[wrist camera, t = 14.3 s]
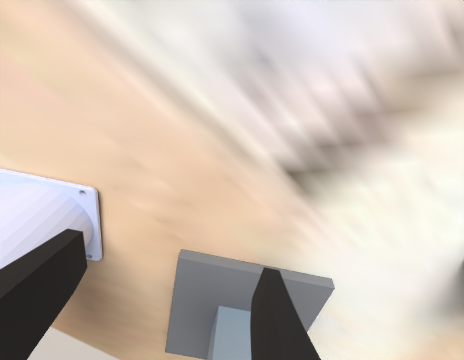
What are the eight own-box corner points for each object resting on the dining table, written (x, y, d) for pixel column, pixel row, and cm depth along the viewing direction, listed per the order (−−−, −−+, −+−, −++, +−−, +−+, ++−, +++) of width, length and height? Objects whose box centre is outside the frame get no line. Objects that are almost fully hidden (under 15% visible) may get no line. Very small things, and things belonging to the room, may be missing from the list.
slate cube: (210, 333, 28) (203, 389, 23) (218, 305, 25) (212, 362, 21) (256, 341, 28) (257, 399, 23) (268, 315, 25) (272, 373, 21)
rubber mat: (167, 343, 31) (164, 352, 30) (180, 249, 23) (178, 257, 22) (280, 363, 32) (280, 372, 31) (331, 278, 24) (334, 288, 23)
